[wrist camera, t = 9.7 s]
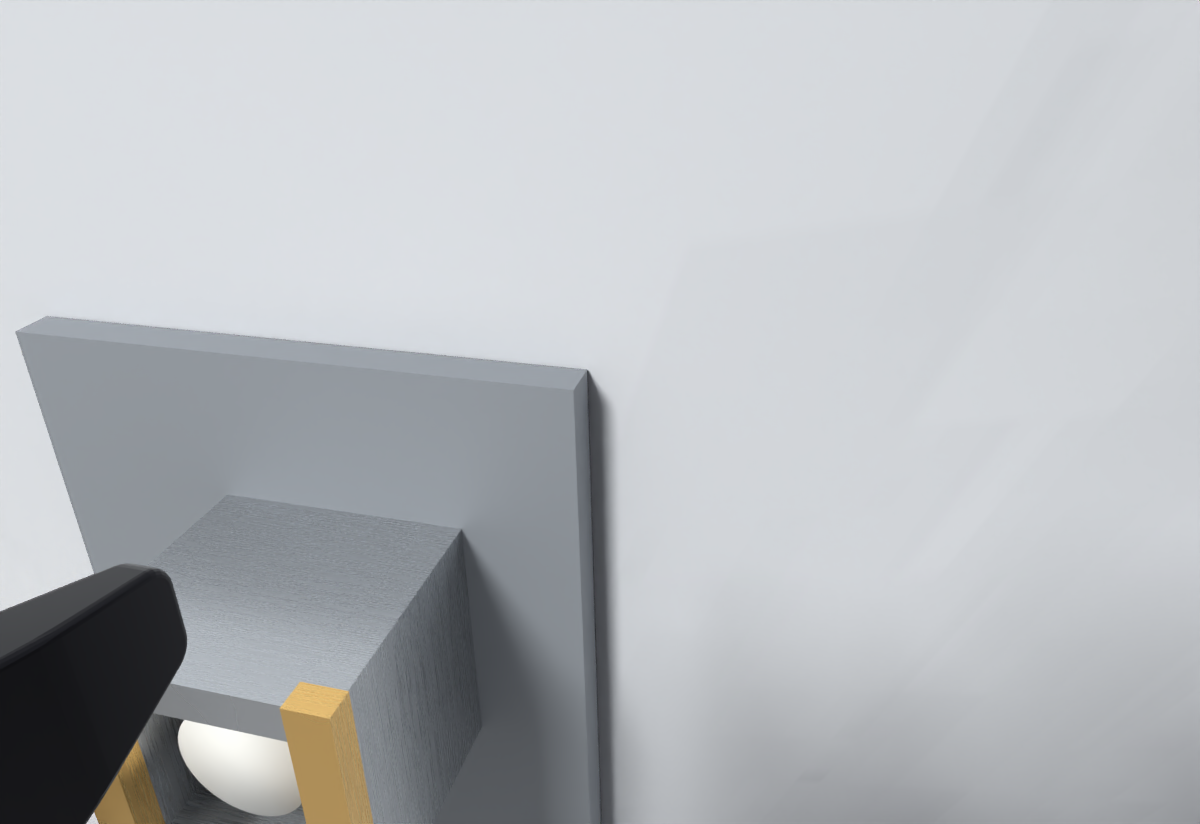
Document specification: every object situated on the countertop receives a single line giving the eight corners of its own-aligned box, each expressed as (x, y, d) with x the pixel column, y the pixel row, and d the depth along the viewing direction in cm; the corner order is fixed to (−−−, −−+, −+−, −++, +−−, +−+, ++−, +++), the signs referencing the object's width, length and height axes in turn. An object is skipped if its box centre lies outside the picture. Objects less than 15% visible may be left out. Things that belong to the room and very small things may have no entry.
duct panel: (586, 369, 21) (482, 524, 16) (603, 914, 29) (539, 1131, 24) (47, 316, 24) (-184, 428, 19) (200, 817, 32) (69, 988, 27)
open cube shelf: (484, 728, 25) (374, 944, 20) (270, 685, 27) (118, 875, 22) (462, 527, 22) (329, 718, 17) (224, 492, 24) (36, 658, 19)
